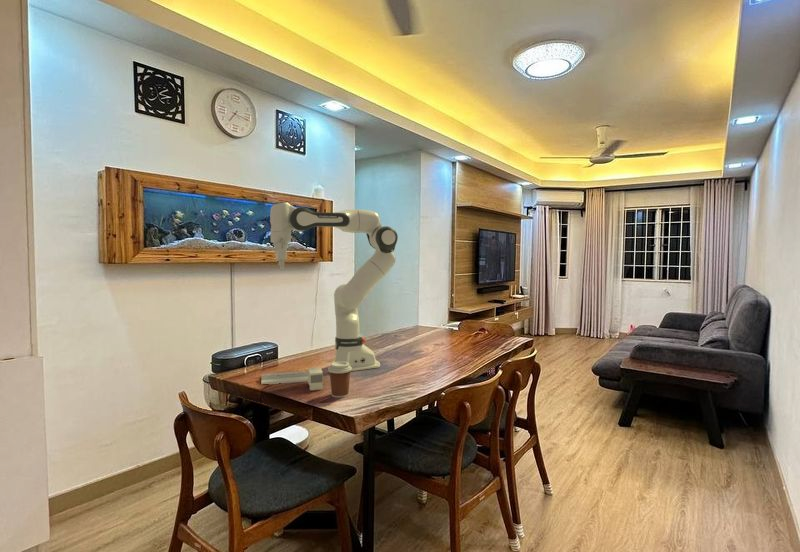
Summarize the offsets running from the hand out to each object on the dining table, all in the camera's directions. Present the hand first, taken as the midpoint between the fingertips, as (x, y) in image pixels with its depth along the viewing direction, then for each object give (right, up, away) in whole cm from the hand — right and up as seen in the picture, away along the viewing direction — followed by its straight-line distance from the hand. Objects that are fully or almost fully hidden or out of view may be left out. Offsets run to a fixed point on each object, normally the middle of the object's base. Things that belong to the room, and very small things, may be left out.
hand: (281, 269), depth 189 cm
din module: (+19, -48, -19) cm, 55 cm away
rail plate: (+5, -47, -9) cm, 48 cm away
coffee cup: (+31, -48, -29) cm, 64 cm away
